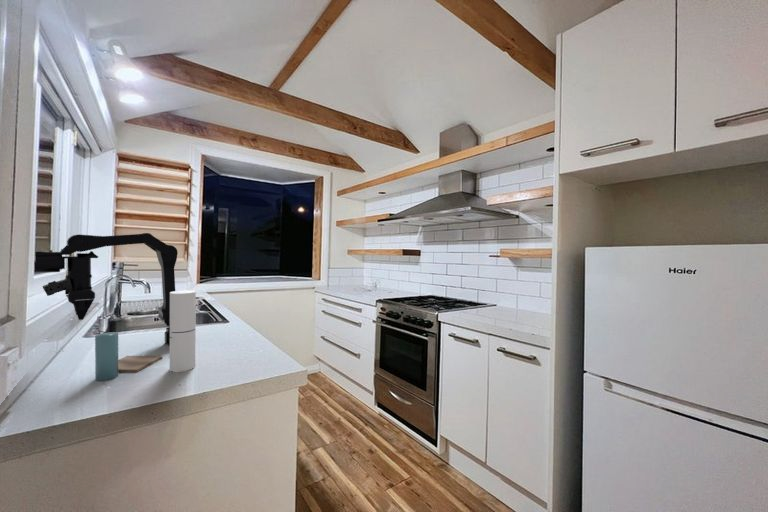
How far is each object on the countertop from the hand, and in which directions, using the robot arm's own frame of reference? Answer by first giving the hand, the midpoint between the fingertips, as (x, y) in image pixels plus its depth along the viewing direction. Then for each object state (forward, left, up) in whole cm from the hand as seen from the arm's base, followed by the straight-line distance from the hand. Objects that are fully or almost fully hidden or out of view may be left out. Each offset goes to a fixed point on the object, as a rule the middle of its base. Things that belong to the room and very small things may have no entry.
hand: (79, 317), depth 107 cm
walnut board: (-11, +17, -15) cm, 25 cm away
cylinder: (-4, +24, -15) cm, 28 cm away
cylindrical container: (-22, +31, -15) cm, 41 cm away
